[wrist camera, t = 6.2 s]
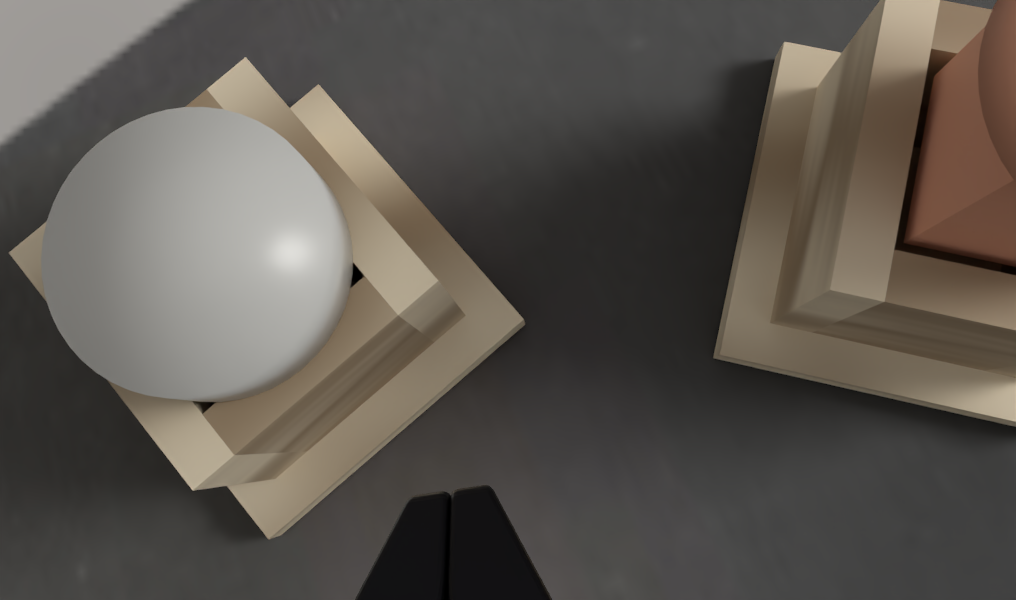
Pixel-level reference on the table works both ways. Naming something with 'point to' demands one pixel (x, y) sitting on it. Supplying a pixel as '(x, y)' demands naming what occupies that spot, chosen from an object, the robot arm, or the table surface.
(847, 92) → the cream square holder
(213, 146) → the light grey rounded piece
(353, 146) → the beige square socket
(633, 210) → the table surface
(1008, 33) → the terracotta plunger
